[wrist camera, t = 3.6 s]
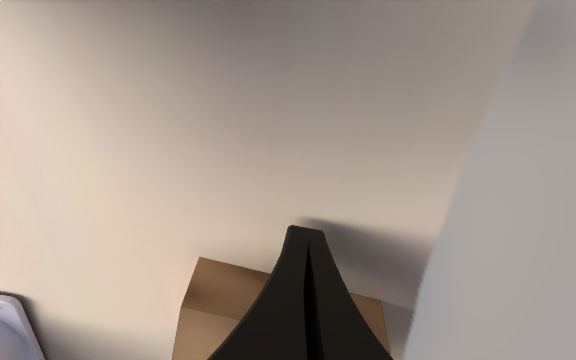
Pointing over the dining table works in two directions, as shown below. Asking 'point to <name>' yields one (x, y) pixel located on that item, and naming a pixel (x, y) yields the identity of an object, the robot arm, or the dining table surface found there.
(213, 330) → the walnut block
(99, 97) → the dining table surface
